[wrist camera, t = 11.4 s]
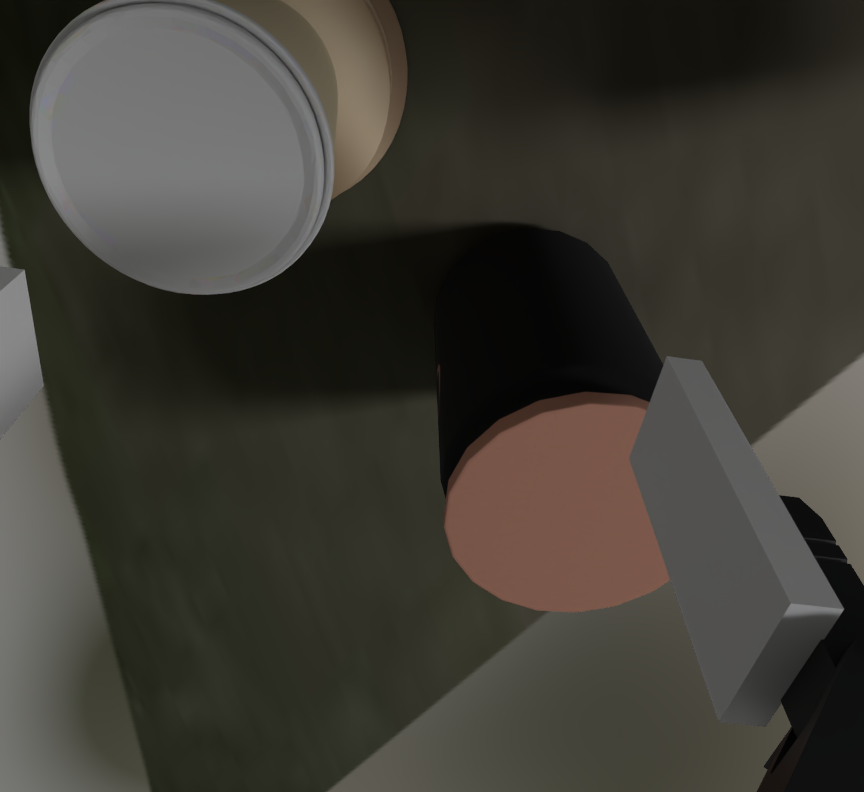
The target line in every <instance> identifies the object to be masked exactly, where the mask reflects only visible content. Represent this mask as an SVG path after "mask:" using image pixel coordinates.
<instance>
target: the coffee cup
mask: <svg viewBox="0 0 864 792" xmlns="http://www.w3.org/2000/svg"><path fill="white" fill-rule="evenodd" d="M337 112H338V88H337V79H336V74H335V70H334V66H333V63H332V60H331V57H330V55H329V53H328V50H327V48H326V46H325V44H324V42H323V41H322V39H321V37H320V36H319V34H318V33H317V32H316V30H315V29H314V28H313V27H312V26H311V24H310V23H309V22H308V21H307V20H306V19H305V18H304V17H303V16H302V15H301V14H300V13H299V12H297V11H296V10H295V9H293V8H292V7H291V6H289V5H287V4H286V3H284V2H282V1H281V0H105V1H102V2H100V3H98V4H96V5H94V6H92V7H91V8H89V9H87V10H85V11H84V12H83V13H81V14H80V15H79V16H77V17H76V18H75V19H73V20H72V21H71V22H70V23H69V24H68V25H67V26H66V27H65V28H64V29H63V30H62V31H61V32H60V33H59V34H58V35H57V37H56V38H55V39H54V41H53V42H52V43H51V45H50V46H49V48H48V50H47V51H46V53H45V55H44V57H43V58H42V60H41V63H40V65H39V68H38V70H37V73H36V76H35V80H34V84H33V88H32V92H31V100H30V133H31V142H32V150H33V154H34V159H35V164H36V167H37V170H38V173H39V176H40V179H41V181H42V183H43V186H44V188H45V190H46V192H47V195H48V196H49V198H50V200H51V202H52V204H53V206H54V208H55V209H56V211H57V212H58V214H59V215H60V217H61V218H62V219H63V221H64V222H65V224H66V225H67V226H68V227H69V229H70V230H71V231H72V232H73V233H74V235H75V236H76V237H77V238H78V239H79V240H80V241H81V242H82V243H83V244H84V245H85V246H86V247H87V248H88V249H90V250H91V251H92V252H93V253H94V254H95V255H96V256H98V257H99V258H100V259H102V260H103V261H104V262H106V263H107V264H109V265H110V266H112V267H113V268H115V269H116V270H118V271H120V272H121V273H123V274H125V275H127V276H129V277H131V278H133V279H135V280H137V281H140V282H142V283H145V284H147V285H149V286H153V287H156V288H159V289H163V290H167V291H172V292H176V293H184V294H200V295H210V294H222V293H231V292H236V291H241V290H245V289H248V288H251V287H254V286H257V285H259V284H261V283H264V282H266V281H268V280H270V279H272V278H273V277H275V276H277V275H279V274H280V273H282V272H283V271H284V270H286V269H287V268H288V267H290V266H291V265H292V264H293V263H294V262H295V261H296V260H297V259H298V258H299V257H300V256H301V255H302V254H303V253H304V252H305V250H306V249H307V248H308V247H309V246H310V244H311V243H312V241H313V240H314V238H315V237H316V235H317V234H318V232H319V230H320V228H321V226H322V224H323V222H324V220H325V217H326V214H327V211H328V208H329V205H330V201H331V196H332V192H333V183H334V145H335V136H336V124H337Z"/></svg>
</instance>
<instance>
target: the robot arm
mask: <svg viewBox="0 0 864 792" xmlns="http://www.w3.org/2000/svg"><path fill="white" fill-rule="evenodd" d="M43 386H44V385H43V379H42V373H41V367H40V361H39V355H38V349H37V343H36V337H35V330H34V324H33V318H32V312H31V306H30V300H29V294H28V288H27V282H26V276H25V270H22V269H15V268H7V267H0V439H1V438H2V436H3V435H4V434H5V433H6V432H7V430H8V429H9V428H10V427H11V425H12V424H13V423H14V422H15V421H16V419H17V418H18V417H19V416H20V414H21V413H22V412H23V411H24V410H25V408H26V407H27V406H28V405H29V403H30V402H31V401H32V400H33V398H34V397H35V396H36V395H37V394H38V392H39V391H40V390H41V389H42V388H43ZM629 460H630V463H631V466H632V469H633V472H634V475H635V478H636V481H637V484H638V487H639V490H640V493H641V495H642V498H643V501H644V504H645V507H646V510H647V513H648V516H649V519H650V522H651V525H652V528H653V531H654V534H655V536H656V539H657V542H658V545H659V548H660V551H661V554H662V557H663V560H664V563H665V566H666V569H667V572H668V575H669V578H670V580H671V583H672V586H673V589H674V592H675V595H676V598H677V601H678V604H679V607H680V609H681V612H682V616H683V619H684V621H685V624H686V627H687V630H688V633H689V636H690V639H691V642H692V645H693V648H694V650H695V654H696V657H697V660H698V662H699V665H700V668H701V671H702V674H703V677H704V680H705V683H706V686H707V689H708V692H709V695H710V697H711V701H712V703H713V706H714V709H715V712H716V715H717V718H718V721H719V722H724V723H734V724H745V725H754V726H764V727H765V726H766V725H767V724H768V722H769V721H770V719H771V718H772V716H773V715H774V713H775V712H776V710H777V709H778V708H779V706H780V704H781V703H782V705H783V707H784V709H785V712H786V714H787V717H788V719H789V721H790V723H791V726H792V727H791V728H790V730H789V731H788V733H787V734H786V735H785V737H784V738H783V740H782V741H781V743H780V744H779V745H778V747H777V748H776V750H775V751H774V752H773V754H772V755H771V757H770V758H769V760H768V761H767V762H766V764H765V765H764V767H765V768H766V769H768V770H767V772H766V774H765V777H764V778H763V781H762V783H761V785H760V786H759V788H758V790H757V792H864V585H863V584H862V582H861V581H860V579H859V577H858V576H857V574H856V572H855V571H854V569H853V568H852V566H851V565H850V564H847V558H846V556H845V555H844V553H843V551H842V550H841V548H840V547H839V546H838V545H836V540H835V539H834V537H833V536H832V534H831V532H830V531H829V529H828V527H827V526H826V524H825V523H824V521H823V519H822V518H821V517H820V516H819V515H817V514H816V513H815V512H814V511H813V510H812V509H811V508H810V507H809V506H808V505H806V504H805V503H804V502H803V501H802V500H801V499H800V498H796V497H789V496H780V495H778V493H777V491H776V490H775V488H774V486H773V484H772V482H771V481H770V479H769V477H768V476H767V474H766V472H765V470H764V468H763V467H762V465H761V463H760V462H759V460H758V458H757V456H756V454H755V453H754V451H753V449H752V448H751V446H750V444H749V442H748V441H747V439H746V437H745V435H744V434H743V432H742V430H741V428H740V427H739V425H738V423H737V421H736V420H735V418H734V416H733V414H732V413H731V411H730V409H729V407H728V406H727V404H726V402H725V400H724V399H723V397H722V395H721V393H720V392H719V390H718V388H717V386H716V385H715V383H714V381H713V379H712V378H711V376H710V374H709V372H708V371H707V369H706V367H705V366H704V364H703V362H702V361H698V360H691V359H683V358H676V357H669V356H667V357H666V360H665V363H664V365H663V368H662V371H661V373H660V376H659V379H658V381H657V384H656V387H655V389H654V392H653V395H652V398H651V400H650V403H649V406H648V408H647V411H646V414H645V416H644V419H643V422H642V424H641V427H640V430H639V432H638V435H637V438H636V441H635V443H634V446H633V449H632V451H631V454H630V457H629Z"/></svg>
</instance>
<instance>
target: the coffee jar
mask: <svg viewBox="0 0 864 792" xmlns="http://www.w3.org/2000/svg"><path fill="white" fill-rule="evenodd" d="M434 333H435V356H436V380H437V403H438V427H439V451H440V474H441V483H442V487H443V490H444V494H445V498H446V502H445V509H444V519H443V526H444V529H445V533H446V536H447V540H448V543H449V547H450V550H451V554H452V556H453V558H454V559H455V560H456V561H457V563H458V564H459V565H460V566H461V568H462V569H463V570H464V571H465V573H466V574H467V575H468V576H469V577H470V579H471V580H472V581H473V582H474V583H476V584H477V585H479V586H480V587H482V588H484V589H485V590H487V591H488V592H490V593H492V594H493V595H495V596H496V597H498V598H500V599H501V600H504V601H507V602H511V603H514V604H517V605H521V606H524V607H528V608H531V609H534V610H540V611H559V612H581V611H588V610H594V609H600V608H607V607H613V606H617V605H619V604H622V603H625V602H627V601H630V600H632V599H635V598H638V597H640V596H643V595H645V594H648V593H650V592H653V591H654V590H656V589H657V588H659V587H660V586H662V585H663V584H665V583H666V582H668V581H669V580H670V578H669V575H668V572H667V569H666V566H665V563H664V560H663V557H662V554H661V551H660V548H659V545H658V542H657V539H656V536H655V534H654V531H653V528H652V525H651V522H650V519H649V516H648V513H647V510H646V507H645V504H644V501H643V498H642V495H641V493H640V490H639V487H638V484H637V481H636V478H635V475H634V472H633V469H632V466H631V463H630V460H629V457H630V454H631V451H632V449H633V446H634V443H635V441H636V438H637V435H638V432H639V430H640V427H641V424H642V422H643V419H644V416H645V414H646V411H647V408H648V406H649V403H650V400H651V398H652V395H653V392H654V389H655V387H656V384H657V381H658V379H659V376H660V373H661V371H662V368H663V364H662V362H661V360H660V358H659V356H658V354H657V352H656V351H655V349H654V347H653V345H652V343H651V341H650V340H649V338H648V336H647V334H646V332H645V330H644V329H643V327H642V325H641V323H640V321H639V319H638V317H637V316H636V314H635V312H634V310H633V308H632V306H631V305H630V303H629V301H628V299H627V297H626V295H625V293H624V292H623V290H622V288H621V286H620V284H619V282H618V281H617V279H616V277H615V275H614V273H613V271H612V269H611V268H610V266H609V264H608V262H607V261H606V260H605V259H604V258H603V257H601V256H600V255H599V254H598V253H597V252H596V251H595V250H594V249H593V248H592V247H591V246H590V245H589V244H587V243H586V242H583V241H581V240H579V239H576V238H574V237H572V236H569V235H567V234H565V233H562V232H560V231H550V230H539V229H524V230H520V231H515V232H510V233H506V234H501V235H497V236H495V237H494V238H492V239H490V240H488V241H486V242H485V243H483V244H481V245H479V246H477V247H476V248H474V249H472V250H470V251H469V252H468V253H467V254H466V255H465V256H464V257H463V259H462V260H461V261H460V262H459V263H458V264H457V265H456V266H455V267H454V268H453V269H452V270H451V271H450V272H449V274H448V276H447V278H446V280H445V282H444V284H443V286H442V289H441V291H440V293H439V295H438V297H437V303H436V312H435V321H434Z"/></svg>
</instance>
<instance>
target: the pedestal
mask: <svg viewBox="0 0 864 792" xmlns="http://www.w3.org/2000/svg"><path fill="white" fill-rule="evenodd" d="M281 1H282V2H284V3H286V4H287V5H289V6H291V7H292V8H293V9H295V10H296V11H297V12H299V13H300V14H301V15H302V16H303V17H304V18H305V19H306V20H307V21H308V22H309V23H310V24H311V26H312V27H313V28H314V29H315V30H316V32H317V33H318V34H319V36H320V37H321V39H322V41H323V42H324V44H325V46H326V48H327V50H328V53H329V55H330V57H331V60H332V63H333V66H334V70H335V74H336V79H337V88H338V112H337V124H336V136H335V145H334V183H333V192H332V196H331V199H333V198H335V197H336V196H338V195H339V194H341V193H342V192H344V191H346V190H348V189H349V188H351V187H352V186H353V185H355V184H356V183H358V182H359V181H360V180H362V179H363V178H364V177H365V176H366V175H367V174H368V173H369V172H370V171H371V170H372V169H373V168H374V167H375V166H376V165H377V163H378V162H379V161H380V160H381V158H382V157H383V156H384V154H385V152H386V151H387V149H388V148H389V146H390V144H391V143H392V141H393V138H394V136H395V134H396V132H397V129H398V127H399V124H400V121H401V117H402V114H403V110H404V105H405V99H406V93H407V72H408V69H407V58H406V49H405V44H404V40H403V35H402V31H401V28H400V25H399V22H398V19H397V16H396V13H395V11H394V9H393V7H392V5H391V3H390V1H389V0H281Z"/></svg>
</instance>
